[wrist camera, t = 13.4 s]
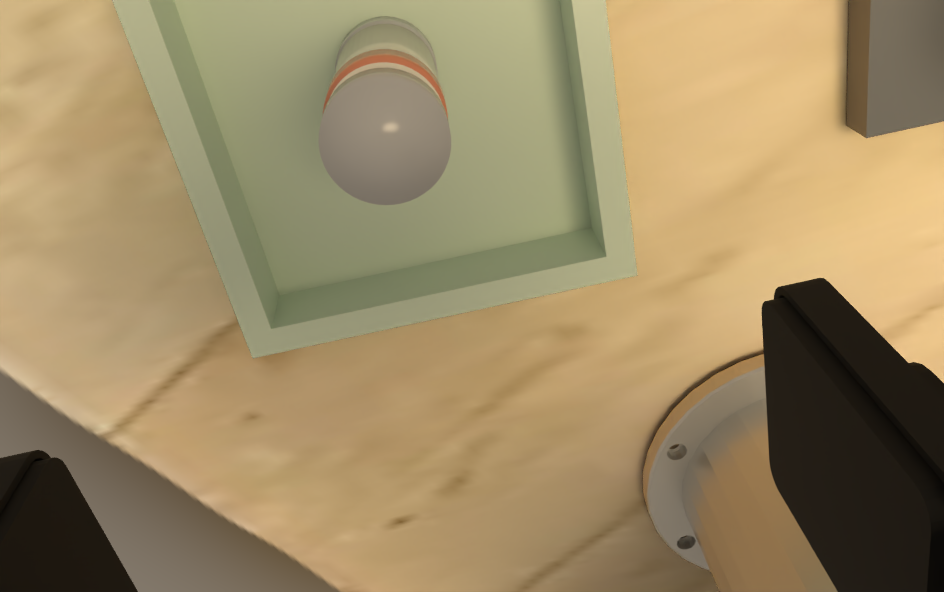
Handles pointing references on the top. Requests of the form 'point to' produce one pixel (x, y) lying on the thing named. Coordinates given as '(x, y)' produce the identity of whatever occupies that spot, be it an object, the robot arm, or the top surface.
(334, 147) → the fuse marked
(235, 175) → the tray
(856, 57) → the fuse block
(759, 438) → the robot arm
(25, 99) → the top surface
